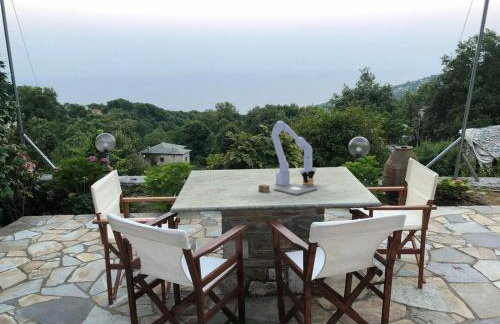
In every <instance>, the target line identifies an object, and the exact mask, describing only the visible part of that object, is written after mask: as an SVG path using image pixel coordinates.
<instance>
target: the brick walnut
mask: <svg viewBox="0 0 500 324" xmlns="http://www.w3.org/2000/svg"><path fill="white" fill-rule="evenodd" d="M258 192H262V193H267V192H270V185H268V184H266V183H265V184H264V183H262V184H258Z"/></svg>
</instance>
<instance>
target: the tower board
mask: <svg viewBox="0 0 500 324" xmlns="http://www.w3.org/2000/svg"><path fill="white" fill-rule="evenodd" d="M273 190H274V191H275V192H276V191H277V192H280V193H284V194H288V195H292V196H300V195H304V194H308V193H310V192H314V191H315V192H316V191H317V190H318V187H312V186H310V185H305V184H299V183H292V184H291V185H287V186H279V187H275V188H273Z"/></svg>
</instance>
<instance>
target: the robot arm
mask: <svg viewBox="0 0 500 324" xmlns="http://www.w3.org/2000/svg"><path fill="white" fill-rule="evenodd" d="M282 131H283V132H284V133H286V134H287V133H288V134H289V136H290V137H292V138H293V139H294V142H295V144H296V146H298V148H300V149H301V150H303V169H301V170H299V174H301V176H302V180H303V179H304V183H307V182H308V178H312V179H313V180H314V175H315V173H316V171H317V167H313V147H312V146H311V144H310V143H309V142H307V141H306V139H305V138H304V137H302V136H298V135H297V133H296V132H295V131H294V130H293V129H292V128H291V127H290V126H289V125H288V124H287V123H285V122H284V121H283V120H278V121H276V123H275V124H274V125H273V128H272V131H271V134H270V136H271V139H272V140H271V141H272V143H273V146H274V150H275V152H276V156H277V158H278V159H277V160H278V163H279V171H277V172H276V174H275V183H274V184H275V185H278V186H281V187H283V186H287V185H291V184H293V183H292V182H290V181H291V178H290V177H291V176H290V175H291V174H290V170H289V167H290V164H289V162H288V161H287V159H286V157H285V153H284V149H283V147H282V143H281V140H280V136H279V135H280V133H281V132H282Z"/></svg>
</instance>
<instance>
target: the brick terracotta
mask: <svg viewBox="0 0 500 324" xmlns="http://www.w3.org/2000/svg"><path fill="white" fill-rule="evenodd" d="M302 185H304V186H313V185H314V178H313V179H312V178H308V182H307V183H304V179H303V178H302Z"/></svg>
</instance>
